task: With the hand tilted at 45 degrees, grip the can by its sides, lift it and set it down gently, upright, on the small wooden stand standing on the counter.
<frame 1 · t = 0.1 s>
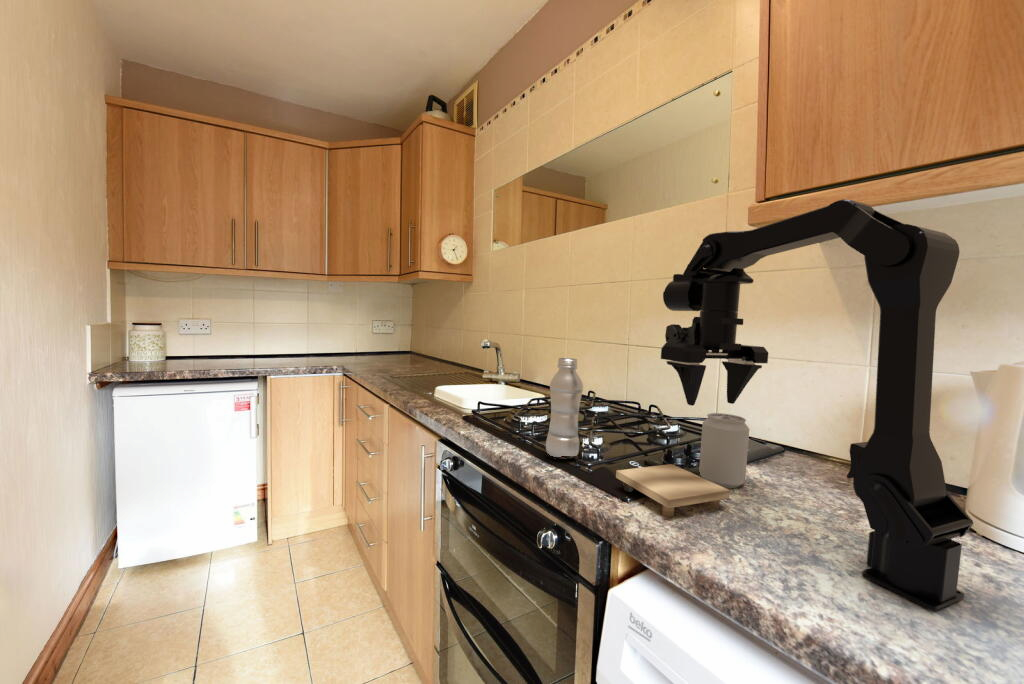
hand: (711, 404, 72), 15 cm above the worktop, tool pointing down, fingers open, 9 cm apart
can: (721, 482, 77), on the worktop
plastic bottle: (561, 459, 86), on the worktop
small wooden stand: (669, 498, 68), on the worktop
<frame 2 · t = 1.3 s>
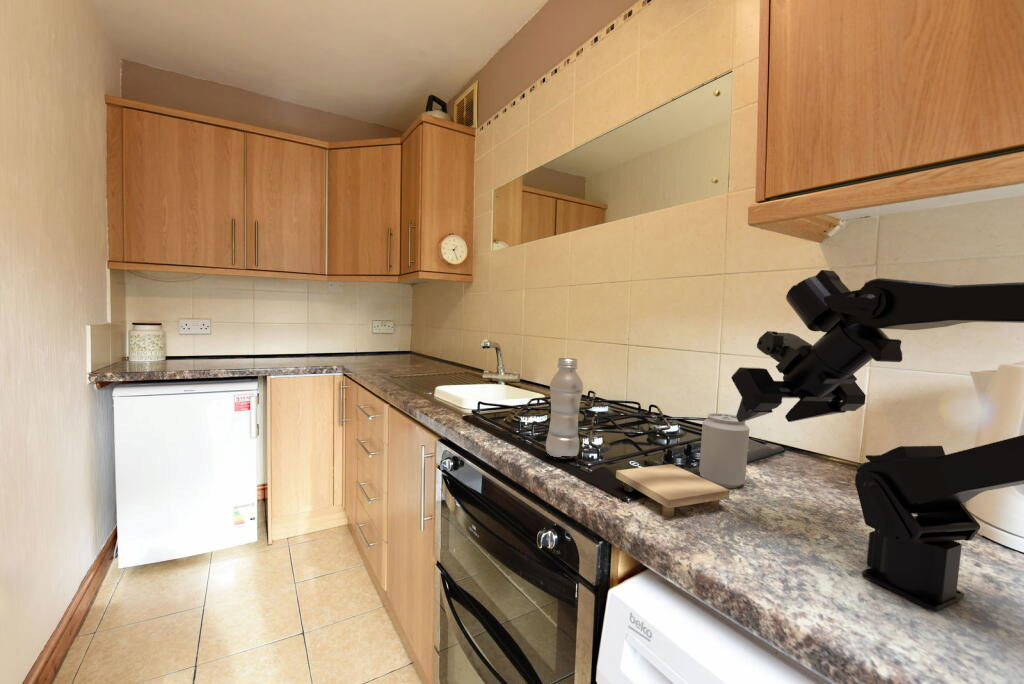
hand: (763, 419, 68), 13 cm above the worktop, tool tilted 45°, fingers open, 9 cm apart
nothing on the worktop moved.
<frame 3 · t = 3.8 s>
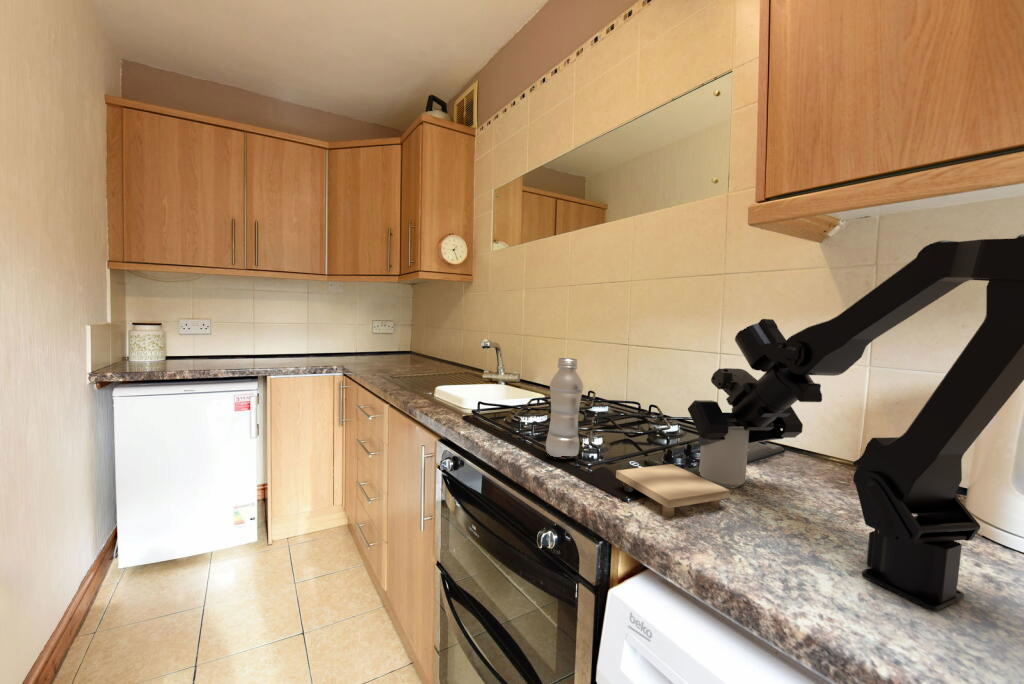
hand: (718, 442, 78), 7 cm above the worktop, tool tilted 45°, fingers closed on can, 7 cm apart
can: (721, 482, 77), on the worktop, touching gripper
everything else where it was.
when the fingers open (10 cm above the worktop, at t = 7.7 s): can stays where it is, resting on small wooden stand.
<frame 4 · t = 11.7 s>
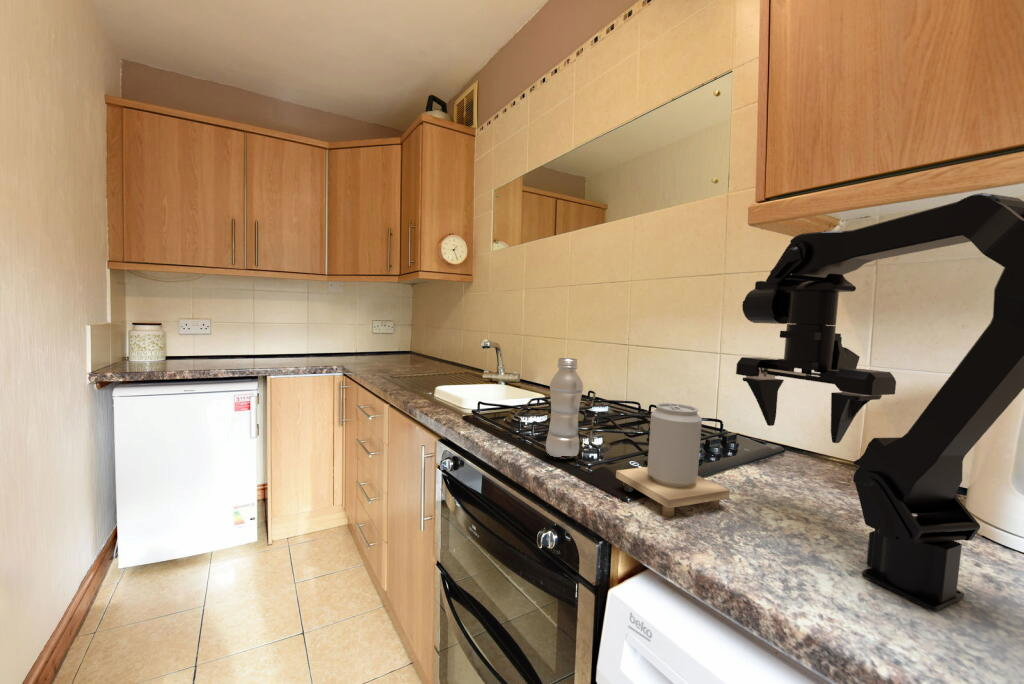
hand: (801, 433, 62), 13 cm above the worktop, tool pointing down, fingers open, 9 cm apart
can: (671, 481, 68), point 3 cm above the worktop, touching small wooden stand
everything else where it was.
at the end: can inside the target area on the small wooden stand (0.2 cm from its centre), point 2.8 cm above the small wooden stand's base; can tilted 0°; the gripper is holding nothing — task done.
